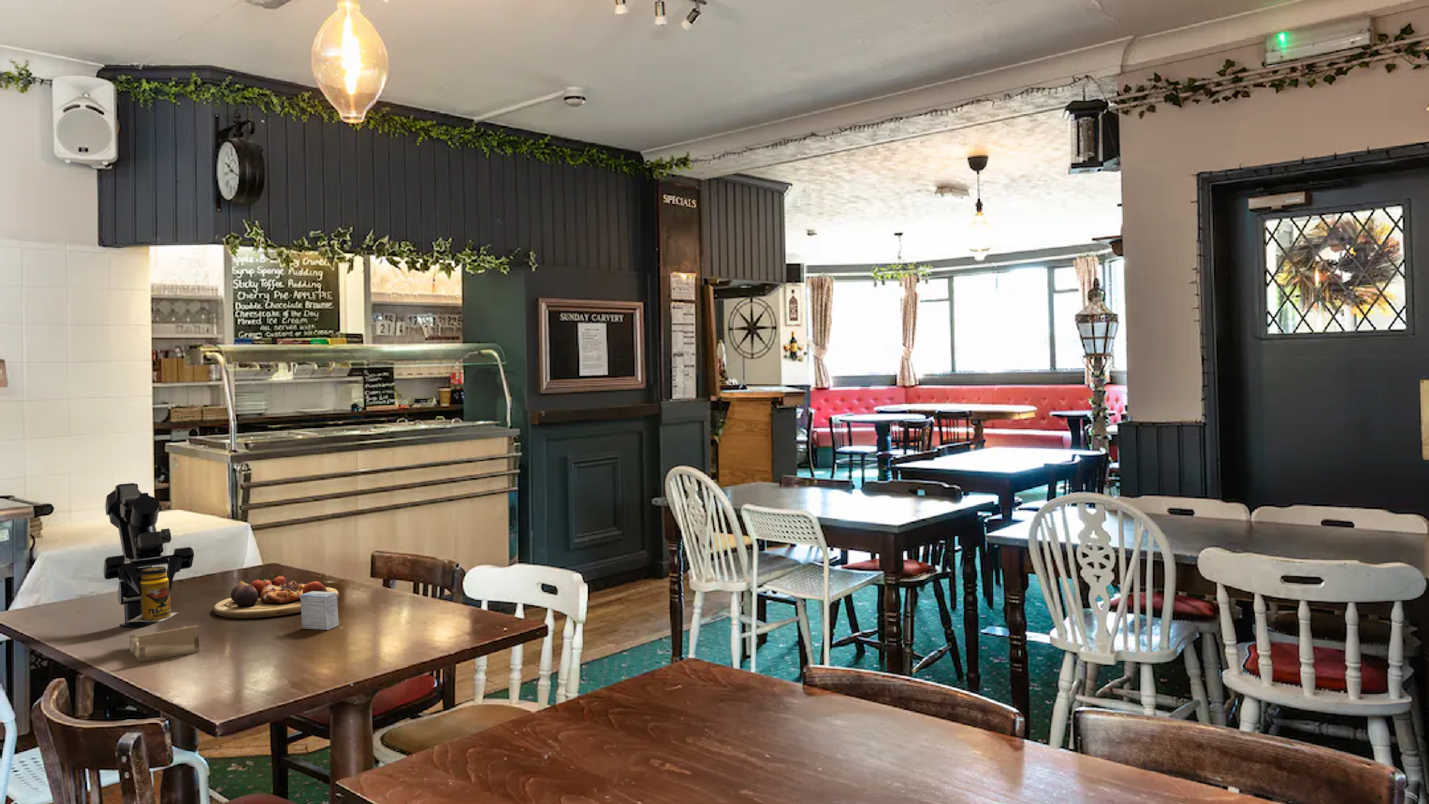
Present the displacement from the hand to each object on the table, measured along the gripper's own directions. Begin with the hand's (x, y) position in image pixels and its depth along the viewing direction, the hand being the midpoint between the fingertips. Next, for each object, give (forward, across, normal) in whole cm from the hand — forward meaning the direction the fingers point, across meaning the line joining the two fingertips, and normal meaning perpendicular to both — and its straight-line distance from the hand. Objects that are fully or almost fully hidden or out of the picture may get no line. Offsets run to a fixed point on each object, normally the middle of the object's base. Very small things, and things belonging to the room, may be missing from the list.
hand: (155, 591), depth 233 cm
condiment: (+4, -1, +6) cm, 7 cm away
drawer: (+15, 0, +4) cm, 15 cm away
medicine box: (+18, +34, +1) cm, 38 cm away
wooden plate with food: (-6, +33, +25) cm, 42 cm away
